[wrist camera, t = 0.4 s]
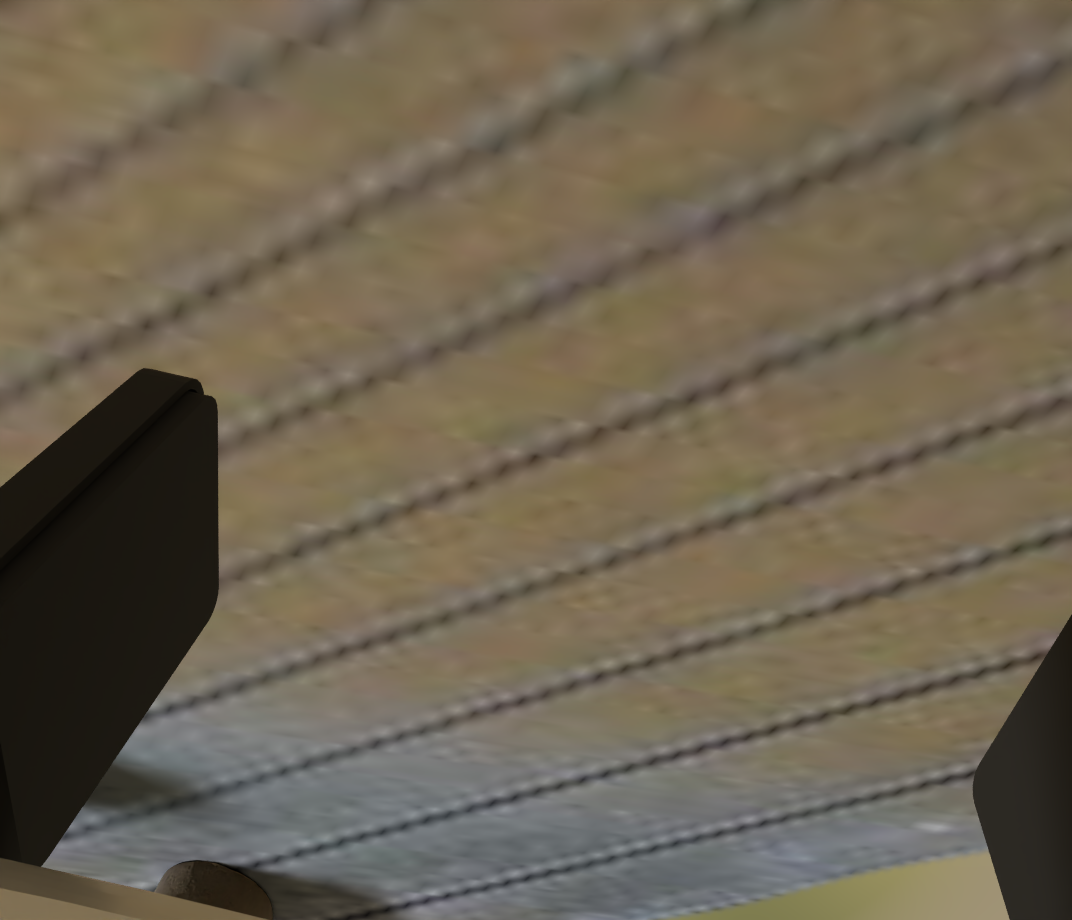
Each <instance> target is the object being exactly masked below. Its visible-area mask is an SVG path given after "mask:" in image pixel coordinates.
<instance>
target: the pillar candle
mask: <svg viewBox="0 0 1072 920" xmlns="http://www.w3.org/2000/svg"><path fill="white" fill-rule="evenodd" d="M155 893H159V894H164V895H168V896H172V897H176V898H180V899H184V900H189V901H193V902H197V903H201V904H205V905H209V906H213V907H218V908H222V909H226V910H230V911H234V912H238V913H242V914H247V915H251V916H255V917H259V918H263V919H267V920H272V919H273V912H272V906H271V903H270V900H269V898H268V897H267V895H266V894H265V892H263V890H262V889H261V888H260V887H259V886H258V885H257V884H256V883H255V882H253V881H251V879H249V878H247V877H246V876H244V875H242V874H241V873H239V872H235V871H233V870H230V869H228V868H227V867H225V866H221V865H220V864H217V863H211V862H206V861H205V862H204V861H195V862H185V863H180V864H177V865H175V866H173V867H171V868H170V869H169V870H168V871H167V872H166V873H165V874H164V876H163V877H162V879H161V881H160V882H159V884H158V886H157V888H156V890H155Z"/></svg>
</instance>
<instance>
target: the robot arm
mask: <svg viewBox="0 0 1072 920" xmlns="http://www.w3.org/2000/svg"><path fill="white" fill-rule="evenodd" d="M218 589H219V555H218V410H217V403H216V400H215V399H214V398H213V397H212V396H208V395H204V392H203V388H202V385H201V383H200V382H199V381H198V380H197V379H193V378H188V377H184V376H180V375H175V374H171V373H166V372H162V371H158V370H153V369H147V368H143V369H141V370H139V371H138V372H136V373H135V374H134V375H133V376H131V377H130V378H129V379H128V380H127V381H126V382H124V383H123V384H122V385H121V386H120V387H118V388H117V389H116V390H115V391H114V392H113V393H111V394H110V395H109V396H108V397H107V398H105V399H104V400H103V401H102V402H101V403H100V404H98V405H97V406H96V407H95V408H94V409H92V410H91V411H90V412H89V413H88V414H87V415H85V416H84V417H83V418H82V419H81V420H79V421H78V422H77V423H76V424H75V425H73V426H72V427H71V428H70V429H69V430H68V431H66V432H65V433H64V434H63V435H62V436H60V437H59V438H58V439H57V440H56V441H55V442H53V443H52V444H51V445H50V446H49V447H47V448H46V449H45V450H44V451H43V452H42V453H40V454H39V455H38V456H37V457H36V458H34V459H33V460H32V461H31V462H30V463H29V464H27V465H26V466H25V467H24V468H23V469H21V470H20V471H19V472H18V473H17V474H15V475H14V476H13V477H12V478H11V479H10V480H8V481H7V482H6V483H5V484H4V485H2V486H1V487H0V920H267V919H263V918H259V917H255V916H251V915H247V914H242V913H238V912H234V911H230V910H226V909H222V908H218V907H213V906H209V905H205V904H201V903H197V902H193V901H189V900H184V899H180V898H176V897H172V896H168V895H164V894H159V893H155V892H150V891H146V890H142V889H137V888H133V887H128V886H124V885H119V884H115V883H110V882H106V881H101V880H97V879H92V878H88V877H83V876H79V875H74V874H70V873H65V872H61V871H56V870H52V869H48V868H43V867H41V866H42V865H43V864H44V862H45V861H46V860H47V858H48V857H49V856H50V854H51V853H52V851H53V850H54V848H55V847H56V845H57V844H58V842H59V841H60V839H61V838H62V836H63V835H64V833H65V832H66V831H67V829H68V828H69V826H70V825H71V823H72V822H73V820H74V819H75V817H76V816H77V814H78V813H79V811H80V810H81V808H82V807H83V805H84V804H85V802H86V801H87V800H88V798H89V797H90V795H91V794H92V792H93V791H94V789H95V788H96V786H97V785H98V783H99V782H100V780H101V779H102V777H103V776H104V774H105V773H106V772H107V770H108V769H109V767H110V766H111V764H112V763H113V761H114V760H115V758H116V757H117V755H118V754H119V752H120V751H121V749H122V748H123V746H124V745H125V743H126V742H127V741H128V739H129V738H130V736H131V735H132V733H133V732H134V730H135V729H136V727H137V726H138V724H139V723H140V721H141V720H142V718H143V717H144V715H145V714H146V712H147V711H148V710H149V708H150V707H151V705H152V704H153V702H154V701H155V699H156V698H157V696H158V695H159V693H160V692H161V690H162V689H163V687H164V686H165V684H166V683H167V682H168V680H169V679H170V677H171V676H172V674H173V673H174V671H175V670H176V668H177V667H178V665H179V664H180V662H181V661H182V659H183V658H184V656H185V655H186V653H187V652H188V651H189V649H190V648H191V646H192V645H193V643H194V642H195V640H196V639H197V637H198V636H199V634H200V633H201V631H202V630H203V628H204V627H205V625H206V624H207V622H208V621H209V619H210V617H211V615H212V613H213V611H214V608H215V605H216V601H217V597H218ZM973 798H974V803H975V807H976V810H977V813H978V817H979V820H980V823H981V826H982V830H983V833H984V836H985V840H986V843H987V846H988V849H989V853H990V856H991V859H992V863H993V866H994V869H995V873H996V876H997V879H998V882H999V886H1000V889H1001V892H1002V895H1003V899H1004V902H1005V905H1006V909H1007V912H1008V915H1009V919H1010V920H1072V615H1071V617H1070V618H1069V620H1068V621H1067V623H1066V625H1065V626H1064V628H1063V630H1062V631H1061V633H1060V634H1059V636H1058V638H1057V639H1056V641H1055V642H1054V644H1053V646H1052V647H1051V649H1050V651H1049V652H1048V654H1047V655H1046V657H1045V659H1044V660H1043V662H1042V663H1041V665H1040V667H1039V668H1038V670H1037V672H1036V673H1035V675H1034V676H1033V678H1032V680H1031V681H1030V683H1029V684H1028V686H1027V688H1026V689H1025V691H1024V693H1023V694H1022V696H1021V697H1020V699H1019V701H1018V702H1017V704H1016V706H1015V707H1014V709H1013V710H1012V712H1011V714H1010V715H1009V717H1008V718H1007V720H1006V722H1005V723H1004V725H1003V727H1002V728H1001V730H1000V731H999V733H998V735H997V736H996V738H995V739H994V741H993V743H992V744H991V746H990V748H989V749H988V751H987V752H986V754H985V756H984V757H983V759H982V760H981V762H980V764H979V766H978V768H977V770H976V772H975V776H974V781H973Z"/></svg>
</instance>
